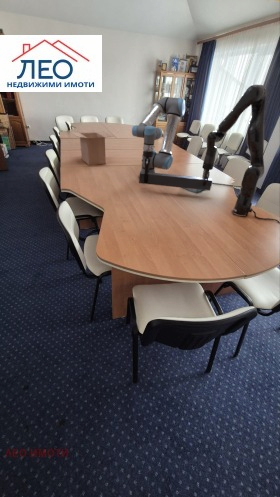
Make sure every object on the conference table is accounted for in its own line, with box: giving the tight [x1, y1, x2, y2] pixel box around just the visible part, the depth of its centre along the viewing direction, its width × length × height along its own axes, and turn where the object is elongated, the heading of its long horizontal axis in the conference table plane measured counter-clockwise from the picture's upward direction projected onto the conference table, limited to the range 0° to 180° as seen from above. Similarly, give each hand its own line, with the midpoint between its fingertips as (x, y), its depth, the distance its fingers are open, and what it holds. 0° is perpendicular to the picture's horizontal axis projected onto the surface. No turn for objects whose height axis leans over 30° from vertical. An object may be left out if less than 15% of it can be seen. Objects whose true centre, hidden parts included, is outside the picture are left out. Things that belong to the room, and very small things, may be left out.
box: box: [70, 129, 114, 166], centre depth 229 cm, size 44×36×27 cm
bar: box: [138, 170, 213, 191], centre depth 170 cm, size 55×5×8 cm, turn 84°
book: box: [183, 184, 213, 194], centre depth 191 cm, size 23×16×5 cm
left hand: (145, 182), depth 174 cm, fingers closed on bar, 5 cm apart
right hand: (203, 184), depth 170 cm, fingers closed on bar, 5 cm apart
